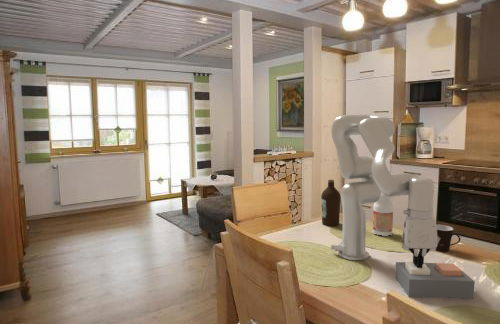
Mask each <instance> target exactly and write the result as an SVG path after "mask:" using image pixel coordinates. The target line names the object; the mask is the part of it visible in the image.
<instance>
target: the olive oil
mask: <svg viewBox="0 0 500 324" xmlns="http://www.w3.org/2000/svg"><path fill="white" fill-rule="evenodd" d="M327 180H328V182H327V187H326V188H325V189H324V190H322V193H321V195H320V196H321V199H320V200H321V224H322V225H324V226H328V227H337V226H339V225H340V215H341V214H340V213H341V203H342V200H341V192H340V191H339V190H338V189H337V188H336V187H335V180H334V179H327Z"/></svg>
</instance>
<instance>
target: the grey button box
mask: <svg viewBox="0 0 500 324" xmlns="http://www.w3.org/2000/svg"><path fill="white" fill-rule="evenodd" d="M405 262H406V261H405ZM405 262H403V261H401V262H400V261H396V262H395V277H394V278H395V280H396V281H397V282H398V284H399V286H400V287H401V288H402V289H403V291H404V292H405V294H406V295H407V297H409V298H428V299H429V298H431V299H457V300H458V299H459V300H474V296H475V295H474V294H475V280H474V279H473V278H471V277H470V276H469V275H468V274H466V273H465V271H464V270H462V269H461V268H459V269H460V270H462V276H442V275H441V274H440V273H439V272H438V271H437V270H436V269H435V263H436V262H424V264H425V265H426V266H427V267H428V268H429V269H430V275H410V273H409V272H408V271H407V270H406V268H405Z"/></svg>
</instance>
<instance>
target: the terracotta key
mask: <svg viewBox="0 0 500 324" xmlns="http://www.w3.org/2000/svg"><path fill="white" fill-rule="evenodd" d="M434 263H435V269H436V270H437V271H438V272H439V273H440V274H441V275H442V276H462V271H463V270H462V269H461V268H459V267H458V266H457V265H456V264H455V263H452V262H451V263H450V262H449V263H447V262H445V263H443V262H434ZM460 269H461V270H460Z"/></svg>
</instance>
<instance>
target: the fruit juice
mask: <svg viewBox="0 0 500 324" xmlns="http://www.w3.org/2000/svg"><path fill="white" fill-rule="evenodd" d="M393 201H394V197H389V196H386V195H384V194H383V193H382V192H381V197H380V199H379V200H378V201H377V202H374V203H373V207H372V208H373V211H372V233H373V235H375V234H377V235H376V236H378V235H382V236H381V237H389V236H388V235H391V236H392V235H393V226H394V225H393V224H394V223H393V222H394V205H393Z"/></svg>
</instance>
